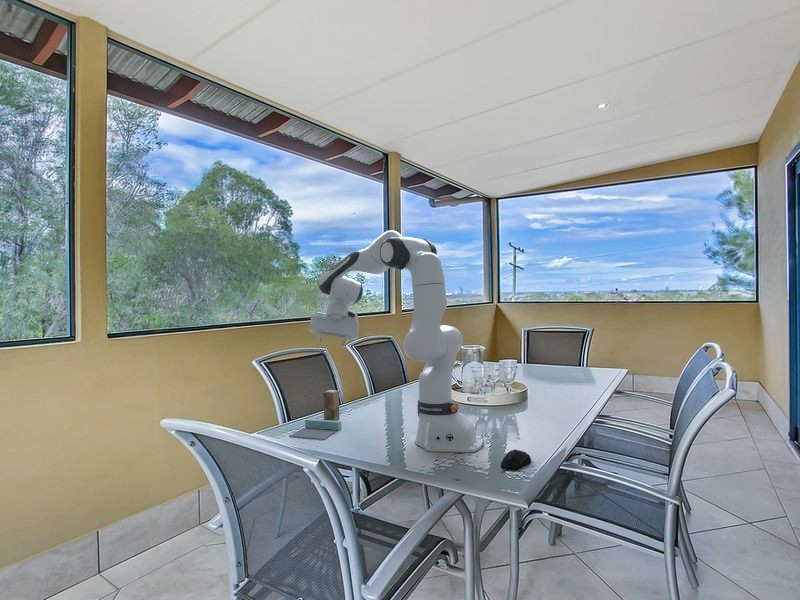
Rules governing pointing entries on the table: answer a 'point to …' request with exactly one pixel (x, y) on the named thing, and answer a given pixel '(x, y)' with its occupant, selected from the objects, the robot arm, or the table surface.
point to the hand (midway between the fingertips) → (331, 344)
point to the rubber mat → (312, 434)
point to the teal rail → (323, 424)
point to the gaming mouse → (515, 460)
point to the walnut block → (331, 405)
